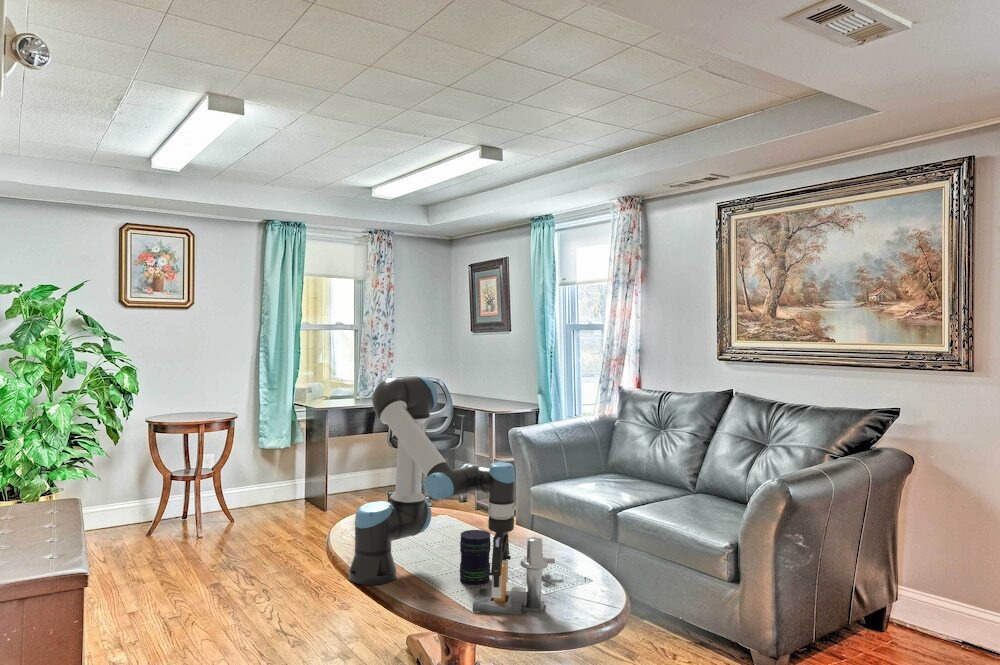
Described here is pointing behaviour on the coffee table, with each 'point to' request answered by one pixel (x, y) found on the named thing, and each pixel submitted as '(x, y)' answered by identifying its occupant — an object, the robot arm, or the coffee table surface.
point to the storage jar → (475, 557)
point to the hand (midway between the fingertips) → (499, 589)
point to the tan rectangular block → (503, 584)
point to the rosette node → (519, 596)
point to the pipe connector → (547, 559)
